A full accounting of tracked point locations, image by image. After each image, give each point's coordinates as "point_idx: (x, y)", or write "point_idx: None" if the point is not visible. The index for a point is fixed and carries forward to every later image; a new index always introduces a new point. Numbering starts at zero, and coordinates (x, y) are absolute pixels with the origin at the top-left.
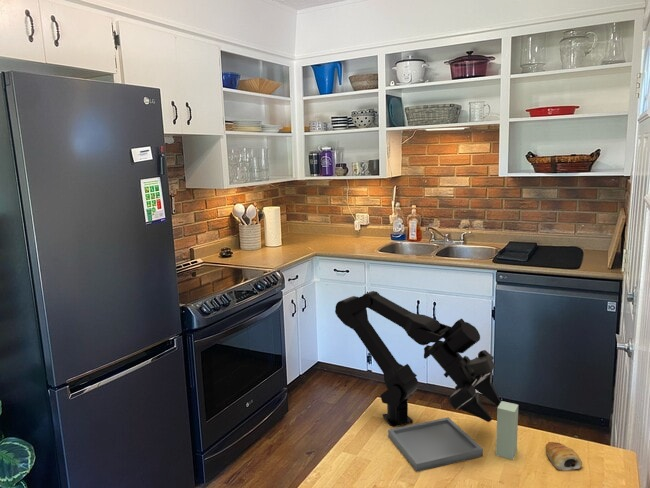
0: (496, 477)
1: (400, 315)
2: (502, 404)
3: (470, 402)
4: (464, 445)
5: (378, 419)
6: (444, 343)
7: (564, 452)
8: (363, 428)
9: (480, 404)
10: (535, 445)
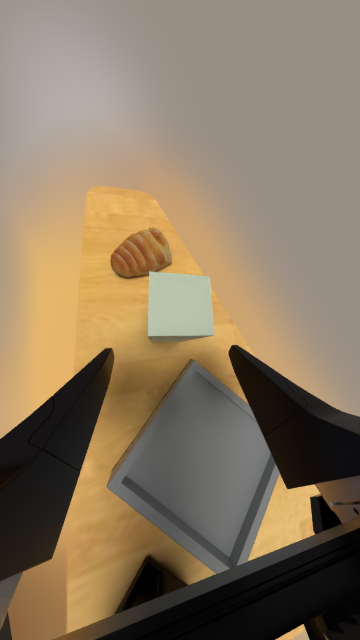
0: (226, 328)
1: None
2: (176, 324)
3: None
4: (189, 396)
5: None
6: None
7: (154, 242)
8: None
9: (300, 394)
10: (118, 294)
